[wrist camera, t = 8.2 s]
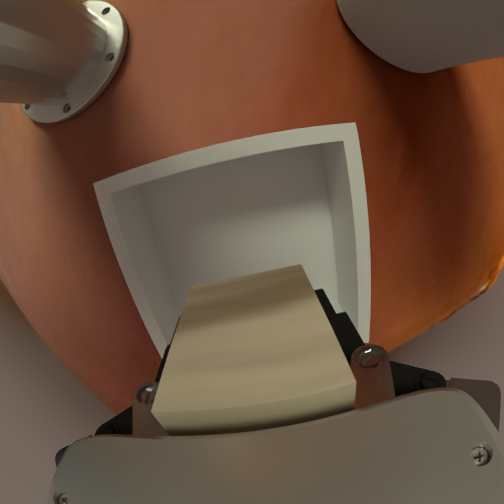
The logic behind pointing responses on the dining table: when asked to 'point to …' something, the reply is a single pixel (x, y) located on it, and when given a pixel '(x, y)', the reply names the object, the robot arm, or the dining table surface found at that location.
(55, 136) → the dining table surface
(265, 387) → the birch block
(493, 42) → the cylinder vase
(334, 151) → the bin
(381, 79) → the dining table surface
